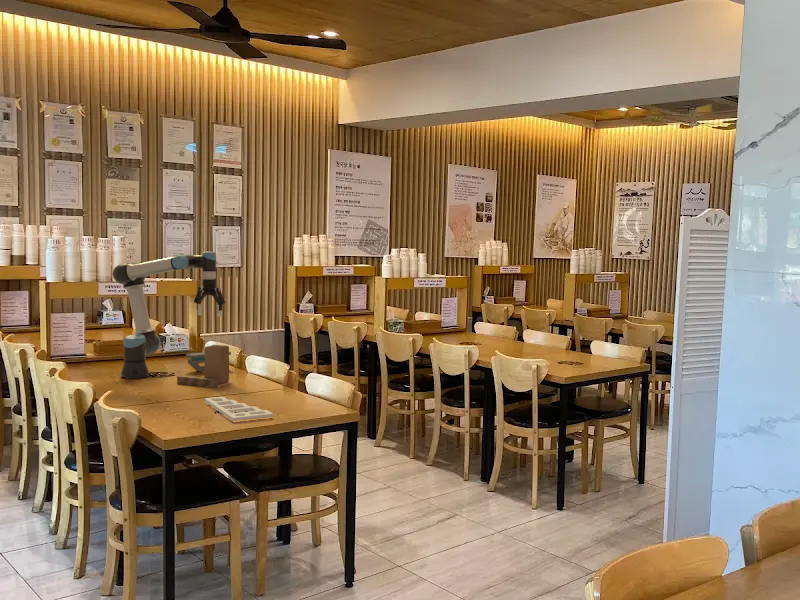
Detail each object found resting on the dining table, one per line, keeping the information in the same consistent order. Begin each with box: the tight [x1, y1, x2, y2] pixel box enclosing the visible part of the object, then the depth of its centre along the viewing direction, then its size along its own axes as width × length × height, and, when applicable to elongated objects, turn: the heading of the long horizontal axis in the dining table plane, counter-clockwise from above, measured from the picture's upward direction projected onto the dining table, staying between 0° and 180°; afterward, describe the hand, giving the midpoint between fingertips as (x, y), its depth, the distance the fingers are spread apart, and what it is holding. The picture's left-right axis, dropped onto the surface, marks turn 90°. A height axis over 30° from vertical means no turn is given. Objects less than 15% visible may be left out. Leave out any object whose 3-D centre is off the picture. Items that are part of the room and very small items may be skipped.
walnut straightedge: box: [176, 375, 219, 388], centre depth 396 cm, size 25×3×4 cm, turn 67°
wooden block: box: [203, 344, 230, 384], centre depth 401 cm, size 10×10×20 cm
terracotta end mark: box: [219, 381, 234, 387], centre depth 401 cm, size 13×12×1 cm
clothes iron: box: [185, 351, 232, 373], centre depth 440 cm, size 25×8×11 cm, turn 128°
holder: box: [204, 396, 274, 421], centre depth 337 cm, size 45×18×3 cm, turn 30°
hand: (209, 315), depth 423 cm, fingers open, 13 cm apart
